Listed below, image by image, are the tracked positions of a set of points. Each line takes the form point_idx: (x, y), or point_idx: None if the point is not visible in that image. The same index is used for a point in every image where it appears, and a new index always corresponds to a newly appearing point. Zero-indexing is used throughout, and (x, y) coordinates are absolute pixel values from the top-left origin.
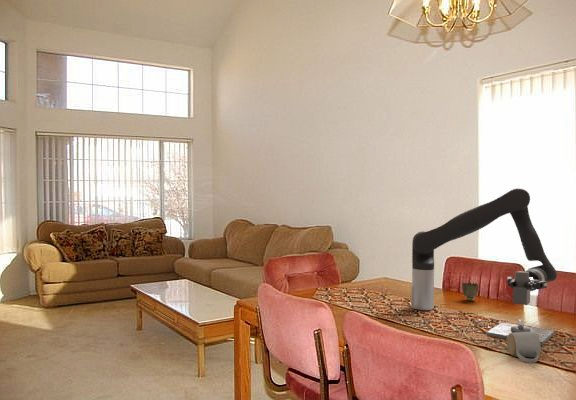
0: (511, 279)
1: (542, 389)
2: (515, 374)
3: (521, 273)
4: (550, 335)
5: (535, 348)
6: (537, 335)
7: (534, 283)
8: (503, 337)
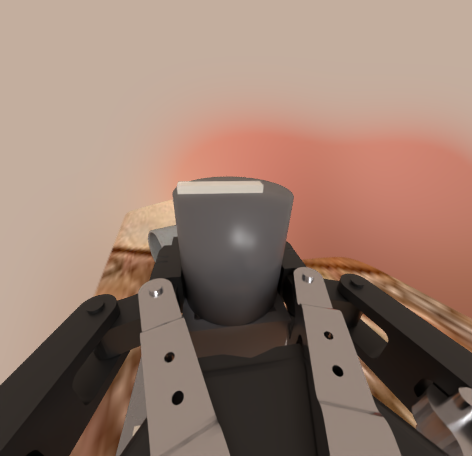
0: (445, 395)
1: (149, 210)
2: (175, 219)
3: (218, 178)
4: None
5: (156, 240)
6: (151, 230)
7: (138, 302)
8: None
